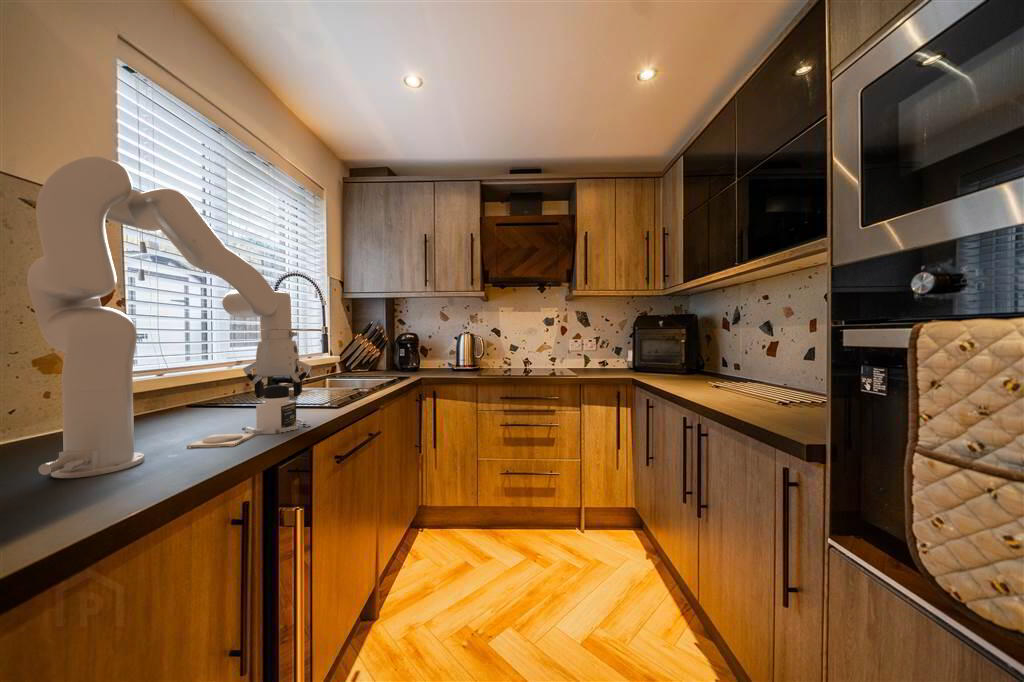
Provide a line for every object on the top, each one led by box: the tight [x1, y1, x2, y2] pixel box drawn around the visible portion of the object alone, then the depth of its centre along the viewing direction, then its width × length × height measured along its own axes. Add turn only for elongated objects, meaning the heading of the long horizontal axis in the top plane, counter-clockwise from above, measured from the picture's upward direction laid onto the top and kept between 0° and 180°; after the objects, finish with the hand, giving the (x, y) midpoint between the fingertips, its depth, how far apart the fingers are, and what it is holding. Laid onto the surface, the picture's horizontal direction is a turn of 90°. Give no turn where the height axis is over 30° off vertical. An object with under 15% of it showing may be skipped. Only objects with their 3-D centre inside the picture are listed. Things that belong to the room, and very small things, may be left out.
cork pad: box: [186, 432, 256, 449], centre depth 96 cm, size 10×10×1 cm
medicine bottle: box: [255, 384, 297, 432], centre depth 109 cm, size 7×7×12 cm
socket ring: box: [241, 417, 311, 436], centre depth 109 cm, size 14×17×1 cm
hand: (278, 396), depth 110 cm, fingers open, 9 cm apart
